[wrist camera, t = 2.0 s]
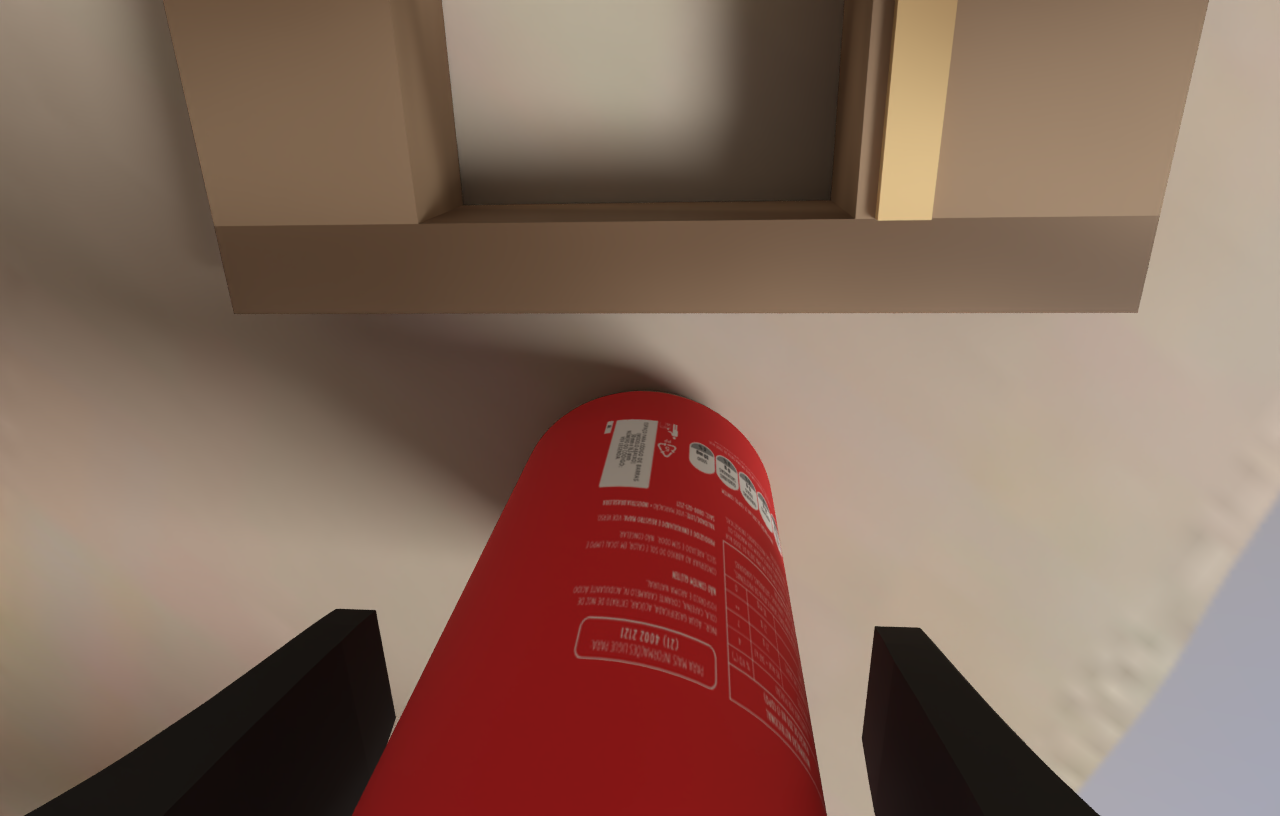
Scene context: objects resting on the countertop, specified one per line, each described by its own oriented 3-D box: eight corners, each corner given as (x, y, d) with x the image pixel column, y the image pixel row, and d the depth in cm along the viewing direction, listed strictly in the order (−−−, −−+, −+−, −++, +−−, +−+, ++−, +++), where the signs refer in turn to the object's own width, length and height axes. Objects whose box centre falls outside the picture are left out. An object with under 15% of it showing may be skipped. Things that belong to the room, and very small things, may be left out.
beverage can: (802, 539, 17) (992, 1384, 6) (595, 610, 18) (419, 1427, 7) (711, 333, 15) (729, 951, 4) (490, 425, 16) (39, 1104, 5)
